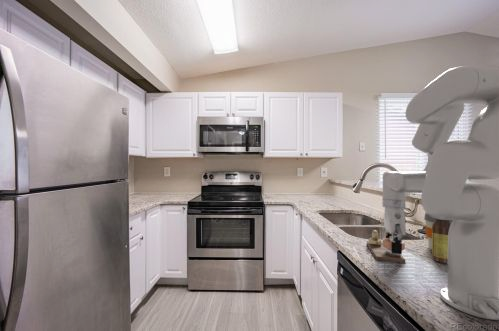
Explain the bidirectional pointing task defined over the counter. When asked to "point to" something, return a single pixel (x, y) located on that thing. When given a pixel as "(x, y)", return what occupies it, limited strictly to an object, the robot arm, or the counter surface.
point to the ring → (387, 243)
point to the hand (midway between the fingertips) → (393, 249)
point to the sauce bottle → (440, 240)
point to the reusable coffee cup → (430, 228)
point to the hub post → (375, 239)
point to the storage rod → (389, 253)
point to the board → (384, 254)
